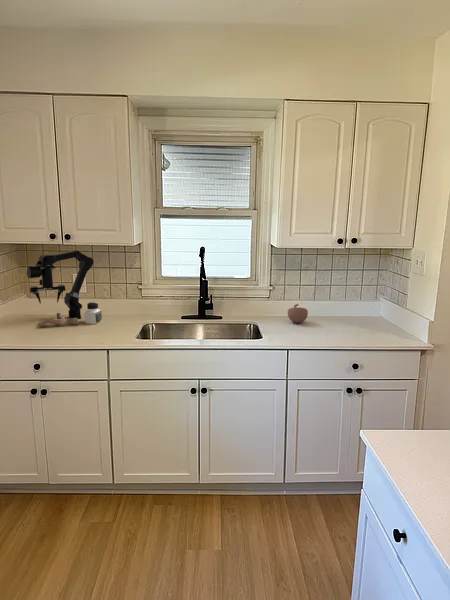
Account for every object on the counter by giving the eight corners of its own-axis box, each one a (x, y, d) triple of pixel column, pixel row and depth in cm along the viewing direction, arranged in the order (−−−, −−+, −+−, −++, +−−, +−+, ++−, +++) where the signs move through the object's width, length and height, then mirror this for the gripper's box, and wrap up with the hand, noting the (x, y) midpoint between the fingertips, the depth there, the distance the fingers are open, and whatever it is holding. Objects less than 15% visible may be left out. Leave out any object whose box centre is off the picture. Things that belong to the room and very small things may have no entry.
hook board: (77, 320, 247) (76, 309, 246) (77, 325, 237) (77, 314, 235) (41, 322, 241) (40, 312, 239) (39, 328, 230) (39, 317, 228)
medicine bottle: (96, 324, 239) (95, 304, 237) (85, 323, 240) (83, 303, 238) (102, 321, 246) (101, 301, 244) (91, 320, 247) (89, 301, 245)
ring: (65, 319, 242) (64, 316, 242) (65, 322, 236) (64, 319, 236) (53, 320, 240) (53, 317, 240) (53, 323, 234) (52, 320, 234)
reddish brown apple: (305, 320, 254) (306, 302, 252) (308, 325, 242) (309, 306, 240) (286, 319, 254) (286, 302, 252) (288, 325, 243) (289, 306, 240)
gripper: (63, 273, 247) (65, 299, 250) (29, 275, 239) (31, 301, 242) (64, 276, 237) (66, 303, 240) (29, 278, 229) (31, 305, 233)
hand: (49, 303), depth 239 cm, fingers open, 9 cm apart
